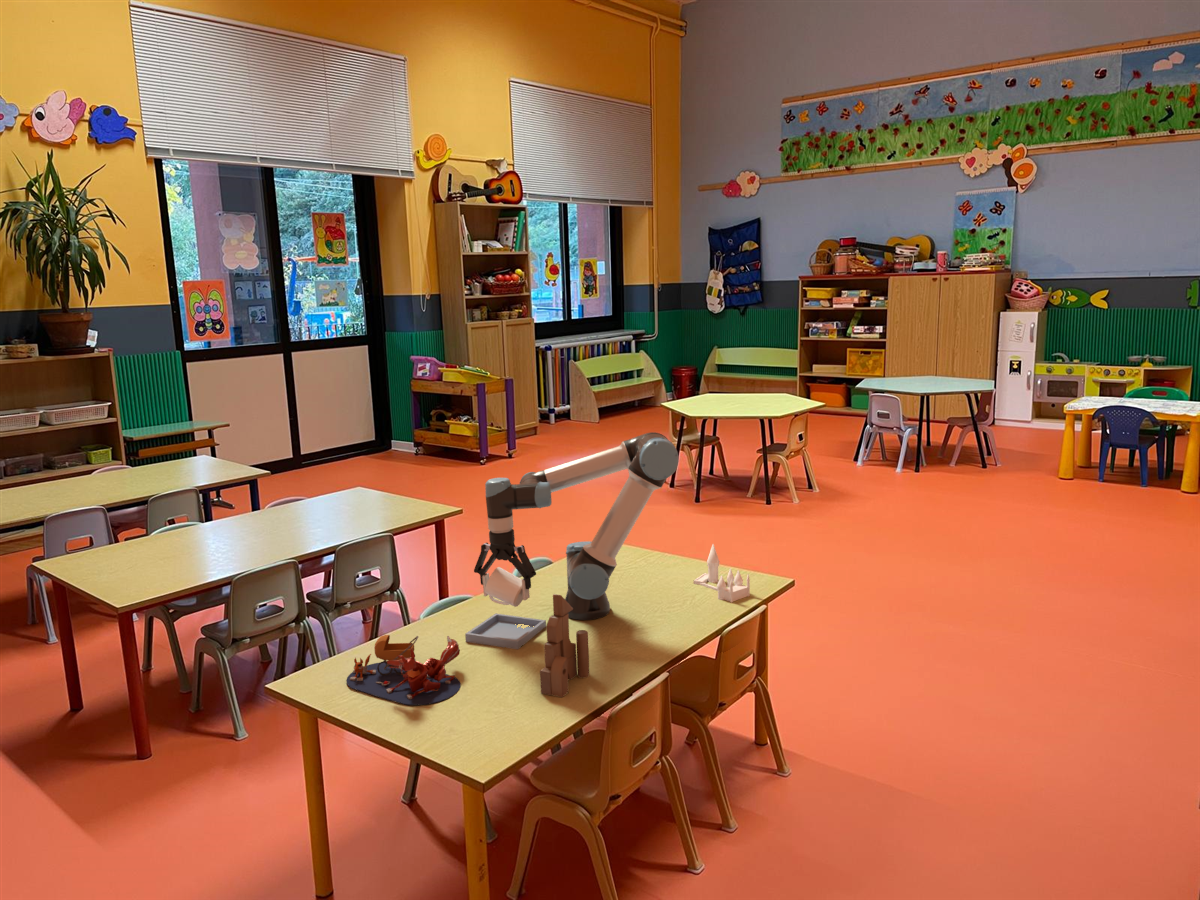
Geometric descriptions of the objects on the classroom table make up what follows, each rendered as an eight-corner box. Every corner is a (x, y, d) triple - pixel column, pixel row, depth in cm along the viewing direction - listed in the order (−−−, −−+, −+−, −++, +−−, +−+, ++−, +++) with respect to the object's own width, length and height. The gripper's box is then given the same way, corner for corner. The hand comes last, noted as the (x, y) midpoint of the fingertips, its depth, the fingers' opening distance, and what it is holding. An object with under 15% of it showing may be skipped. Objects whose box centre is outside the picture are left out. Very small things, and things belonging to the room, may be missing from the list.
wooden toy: (562, 698, 229) (559, 606, 224) (540, 693, 232) (536, 602, 227) (591, 675, 242) (588, 587, 238) (570, 670, 245) (567, 584, 241)
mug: (532, 577, 271) (503, 562, 273) (519, 588, 263) (489, 573, 265) (522, 607, 275) (493, 592, 277) (509, 618, 267) (480, 603, 269)
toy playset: (331, 682, 243) (327, 634, 240) (400, 648, 265) (397, 604, 262) (426, 711, 225) (423, 659, 222) (492, 672, 246) (489, 624, 244)
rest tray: (546, 628, 276) (545, 620, 276) (518, 650, 260) (517, 641, 260) (496, 621, 284) (495, 613, 283) (465, 641, 267) (465, 633, 267)
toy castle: (706, 581, 316) (706, 537, 313) (759, 599, 297) (759, 553, 294) (677, 590, 308) (676, 545, 305) (729, 609, 288) (729, 562, 285)
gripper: (543, 528, 264) (548, 596, 268) (472, 523, 274) (477, 589, 278) (532, 535, 257) (537, 604, 261) (459, 530, 268) (465, 597, 272)
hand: (506, 597), depth 270 cm, fingers closed on mug, 13 cm apart
